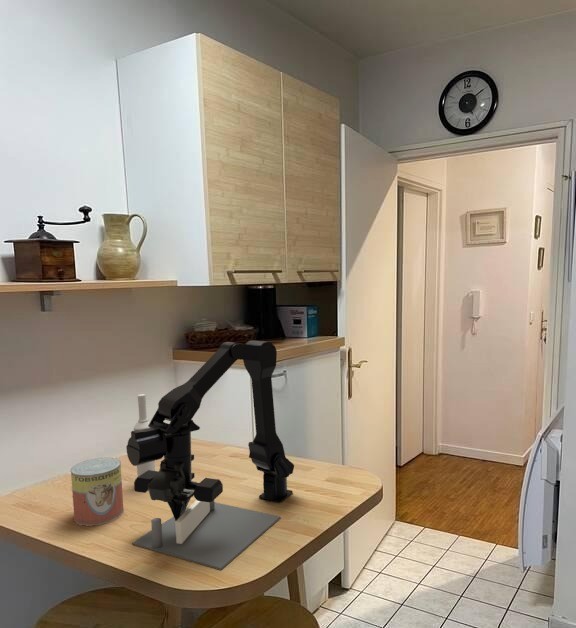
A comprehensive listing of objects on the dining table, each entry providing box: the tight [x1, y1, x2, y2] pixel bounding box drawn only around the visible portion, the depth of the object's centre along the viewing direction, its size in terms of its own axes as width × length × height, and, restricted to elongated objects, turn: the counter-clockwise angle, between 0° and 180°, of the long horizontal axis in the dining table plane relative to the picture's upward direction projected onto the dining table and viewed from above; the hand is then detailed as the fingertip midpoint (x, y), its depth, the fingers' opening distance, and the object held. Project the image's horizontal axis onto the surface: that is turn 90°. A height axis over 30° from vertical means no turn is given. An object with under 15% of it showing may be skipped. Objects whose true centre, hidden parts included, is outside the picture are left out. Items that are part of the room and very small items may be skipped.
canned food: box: [70, 457, 125, 527], centre depth 122 cm, size 11×11×12 cm
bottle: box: [133, 393, 156, 477], centre depth 138 cm, size 5×5×25 cm
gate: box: [175, 499, 215, 544], centre depth 114 cm, size 18×2×5 cm, turn 166°
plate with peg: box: [131, 501, 282, 571], centre depth 112 cm, size 23×23×6 cm
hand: (178, 523), depth 111 cm, fingers closed
